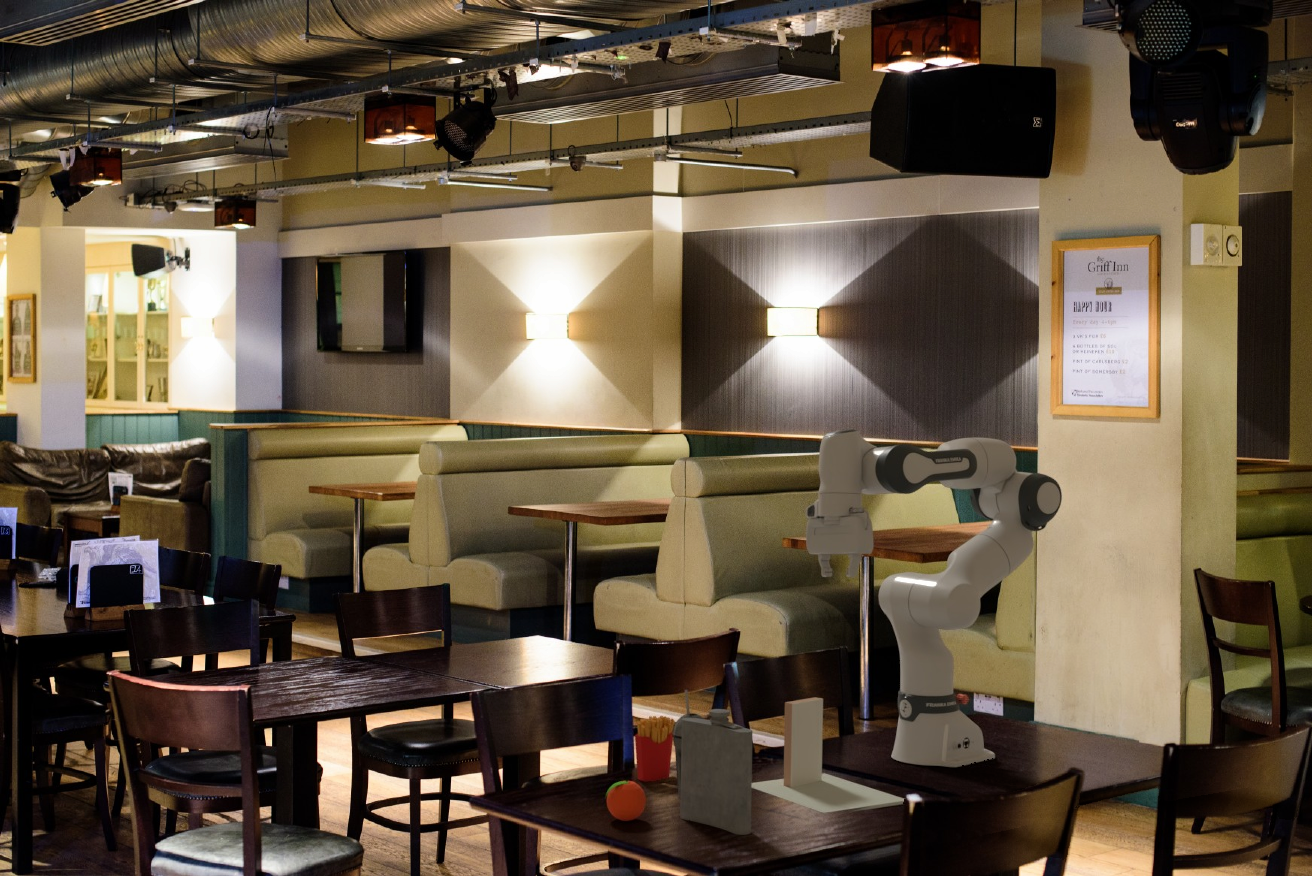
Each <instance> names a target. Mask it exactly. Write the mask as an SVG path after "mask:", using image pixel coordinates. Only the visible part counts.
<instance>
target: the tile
mask: <svg viewBox="0 0 1312 876" xmlns="http://www.w3.org/2000/svg"><path fill="white" fill-rule="evenodd" d="M823 716H824V698H822V697H816V696H815V697H810V698H803V699H796V700H793V701H785V702H784V733H783V737H784V738H783V739H784V741H783V743H784V744H783V745H784V747H783V779H784V786H788V787H795V786H799V785H804V784H808V783H812V782H817V781H821V780H822V774H823V720H824V717H823Z"/></svg>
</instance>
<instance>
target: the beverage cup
mask: <svg viewBox="0 0 1312 876" xmlns="http://www.w3.org/2000/svg"><path fill="white" fill-rule="evenodd" d="M688 693H689V692H688V689H684V696H685V707H686V714H684V715H681V716H680V717H679V718H678V719H677V720H676V721H675V723H674V727H673V731H672V732H673V735H672V736H673V742H672V743H673V746H674V755H675V767H676V768H675V769H676V782H677V785H676V786H677V792H678V793H677V794H678V797H679V798H680V799H681V752H682V719H683V718H699V719H705V718H704V717H703V716H701V715H699V714H698V713H690V704H689V703H690V702H689V696H688V695H689V694H688Z"/></svg>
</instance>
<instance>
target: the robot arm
mask: <svg viewBox="0 0 1312 876" xmlns="http://www.w3.org/2000/svg"><path fill="white" fill-rule="evenodd" d="M820 442H821V443H820V446H819V454H818V475H819V480H820V484H819V489H818V493H817V494H818V496H817V499H816V500H815V501H814V502H813V503H812V504H810V505H809V506H807V507H806V508H805V517H806V518H807V519H808V520H807V522H806V527H805V528H806V529H805V534H806V535H805V541H806V542H805V543H806V549H807V552H808V553H809V555H817V560H818V563H819V566H820V569H821V571H820V574H821V577H823V578H832V576H833V568H831V565H830V560H831V555H848V560H849V564H848V567H846V568H845V571H846V573H845V576H846V577H847V578H857V577H858V575H859V574H858V573H859V572H858V571H859V567H860V565H861V562H862V555H864V554H865V555H870V554H872V552H873V551H874V532H873V523H872V520H871V517H870V514H869V512H868V511H867V509H866V508H865V507H863V494H864V495H868V496H871V495H874V496H876V495H889V494H892V495H893V494H900V495H901V494H902V495H908V494H909V495H910V494H913V493H915V492H917V491H919V490H920V489H921V488H923V487H924V486H926V485H927V484H930V483H936V482H939V483H940V485H942V486H944V488H948V489H954V490H969V491H970V492H969V493H970V494H969V496H970V503H971V507H972V509H973V510H974V512H975V513H976V514H977V515H978V516H979V517H982V518H984V519H986V520H990V521H991V523H990V524H989V525H988V526H987V528H986V529H984V530H982V531H981V532H979V533H977V534H976V535H974V536H973V537H971V538H970V539H969V540H967V541H966V542H964V543H963V544H961V545H960V546H958V547H957V548H955V549H954V550H953V551H952V552H951V553H950V554H949V555H948V558H947V562H946V563H947V565H946V569H945V570H943V571H941V572H938V573H934V574H930V573H929V574H928V573H920V572H912V571H905V572H899V573H894V574H890V575H889V576H887V577H885V579H884V580H883V581H882V583H881V584H880V588H879V590H878V605H879V606H880V608H881V610H882V611H883V613H884V615H886V617H887V619H888V620H889V621H890V623H891V625H892V629H893V632H894V634H895V637H896V641H897V646H898V651H899V660H900V661H899V664H900V668H899V669H900V672H899V673H900V674H899V675H900V682H899V683H900V684H899V685H900V686H899V687H900V688H899V690H898V693H897V695H898V697H897V709H898V722H897V728H896V735H895V740H894V744H893V748H892V749H893V750H892V752H891V758H892V759H893V760H896V761H897V762H898V761H899V762H901V763H905V764H911V765H919V766H939V767H947V768H958V767H962V765H964V766H968V765H971V763H972V764H975V763H974V762H976V763H980V762H984V760H985V761H988V760H987V759H989V760H993V759H996V753H994V752H993V751H991V750H989V749H987V748H985V747H984V742H985V741H984V736H983V735H984V734H983V732H982V729H981V727H979V725H977V724H976V723H975V722H974V721H972V720H971V719H970V717H968V716H967V715H966V714H965V713H963V711H961V710H960V705H959V704H963V705H967V704H968V702H969V700H970V699H969V696H968V695H967V694H962V693H958V694H956V693H955V692H954V674H955V673H954V672H955V671H954V669H955V667H954V665H955V663H954V661H955V660H954V656H953V653H952V652H951V650H950V649H949V648H948V647H947V646H946V644H945V643H944V642H945V641H943V638H942V635H941V632H940V630H943V631H956V630H961V629H962V630H963V629H968V628H969V627H971V626H973V624H974V623H975V622H976V621H977V619H978V617H979V615H980V612H981V598H982V597H983V596H984V595H985V594H986V593H988V592H989V591H990V590H991V589H992V588H994V587H995V586H997V585H998V584H1000V582H1001V581H1003V580H1004V579H1005V578H1007V577H1008V576H1010V575H1011V574H1012V573H1014V572H1015V571H1016V570H1017V569H1018V568H1019V567H1020V566H1021V565H1022V564H1023V563H1024V562H1025V561H1026V560H1027V559H1028V557H1029V556H1030V555H1031V553H1032V552H1033V549H1034V538H1033V532H1040V531H1043V530H1044V529H1045V528H1046V526H1047V524H1048V523H1049V522H1050V521H1052V520H1053V518H1054V517H1055V516H1056V515H1057V513H1058V512H1059V509H1060V507H1061V504H1062V501H1063V499H1062V498H1063V497H1062V496H1063V494H1062V489H1061V486H1060V484H1059V483H1058V481H1057V480H1056V479H1055V478H1053V477H1051V476H1049V475H1047V474H1044V473H1040V472H1025V471H1024V472H1023V471H1018V469H1017V456H1016V452H1015V450H1014V449H1013V447H1012V446H1011V445H1010V444H1009V443H1008V442H1006V441H1003V439H1002V440H1001V439H996V438H989V437H962V438H956V439H952V440H949V441H946V442H944V443H941V444H940V445H939V446H938V447H937V448H936V450H931V451H927V450H924V449H922V448H920V447H918V446H915V445H913V444H909V443H901V444H900V443H899V444H895V445H891V446H881V447H877V446H876V445H874V444H872V443H870V442H869V441H867V439H864V438H863V436H861V433H860V431H859V430H857V429H843V430H835V431H829V432H828V433H826V434H825V435H823V437H822V438H821V441H820ZM992 758H993V759H992Z"/></svg>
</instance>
